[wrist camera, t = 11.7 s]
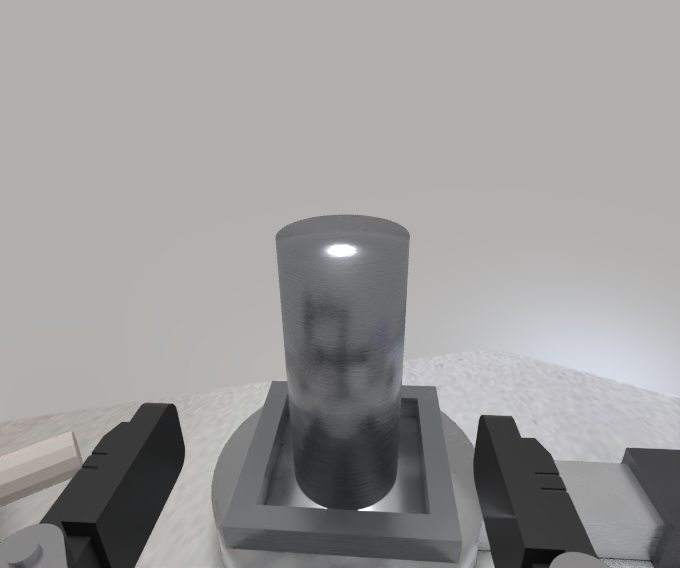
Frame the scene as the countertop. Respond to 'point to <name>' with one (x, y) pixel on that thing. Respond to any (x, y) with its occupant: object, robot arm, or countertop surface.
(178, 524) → the countertop surface
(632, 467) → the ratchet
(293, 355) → the grey glossy cylinder
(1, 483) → the pipe connector
